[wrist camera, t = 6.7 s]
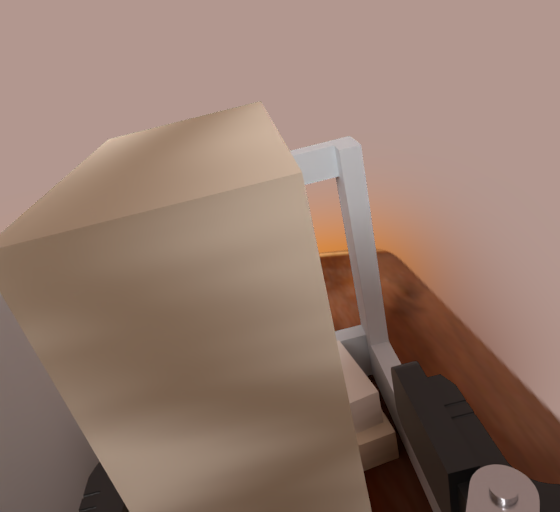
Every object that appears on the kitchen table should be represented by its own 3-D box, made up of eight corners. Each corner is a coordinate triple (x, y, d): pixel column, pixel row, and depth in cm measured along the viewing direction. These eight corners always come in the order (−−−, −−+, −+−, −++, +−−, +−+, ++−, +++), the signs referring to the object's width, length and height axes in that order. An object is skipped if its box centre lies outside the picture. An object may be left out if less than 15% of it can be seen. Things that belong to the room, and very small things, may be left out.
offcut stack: (157, 552, 21) (106, 464, 18) (158, 462, 25) (117, 381, 23) (399, 460, 22) (385, 366, 19) (358, 390, 27) (342, 306, 24)
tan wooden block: (306, 811, 13) (-23, 253, 5) (282, 582, 18) (108, 139, 10) (427, 781, 13) (301, 172, 5) (367, 560, 18) (260, 101, 10)
